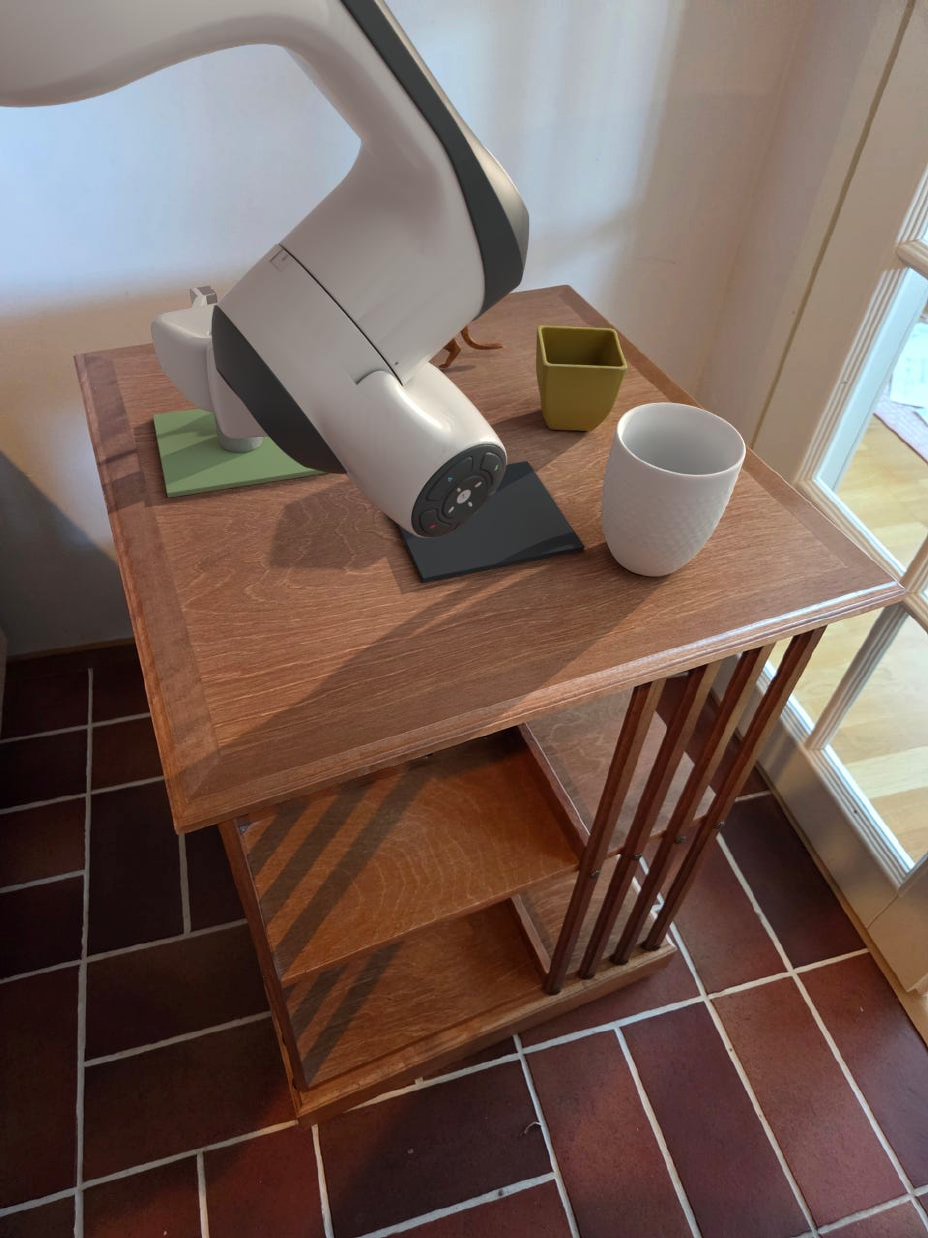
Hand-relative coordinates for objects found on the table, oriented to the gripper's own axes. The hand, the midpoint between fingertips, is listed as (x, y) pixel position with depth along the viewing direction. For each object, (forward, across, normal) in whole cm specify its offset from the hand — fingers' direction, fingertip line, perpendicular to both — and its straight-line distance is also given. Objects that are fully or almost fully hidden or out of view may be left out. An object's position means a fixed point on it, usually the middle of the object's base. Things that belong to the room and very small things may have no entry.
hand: (259, 285), depth 64 cm
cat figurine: (+18, -27, +22) cm, 39 cm away
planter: (+11, 0, +22) cm, 24 cm away
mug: (-22, -28, +22) cm, 41 cm away
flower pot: (0, -34, +22) cm, 41 cm away
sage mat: (+11, 0, +22) cm, 25 cm away
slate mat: (-11, -16, +22) cm, 29 cm away
